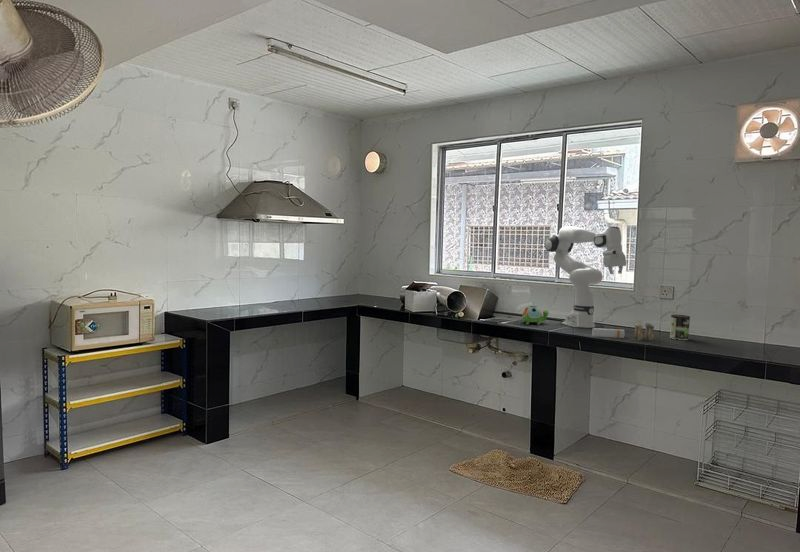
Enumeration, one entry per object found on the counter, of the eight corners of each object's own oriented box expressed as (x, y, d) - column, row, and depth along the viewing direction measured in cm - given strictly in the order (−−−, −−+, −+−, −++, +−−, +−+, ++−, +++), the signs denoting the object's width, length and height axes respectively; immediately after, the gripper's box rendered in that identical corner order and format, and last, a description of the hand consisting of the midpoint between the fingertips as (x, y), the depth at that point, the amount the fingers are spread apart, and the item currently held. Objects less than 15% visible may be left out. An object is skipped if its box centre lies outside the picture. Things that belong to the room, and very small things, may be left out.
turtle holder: (551, 325, 377) (551, 307, 376) (524, 324, 376) (525, 307, 375) (545, 322, 389) (546, 305, 388) (520, 321, 388) (520, 304, 387)
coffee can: (692, 339, 334) (693, 316, 333) (682, 340, 329) (684, 317, 328) (675, 336, 343) (677, 313, 342) (666, 338, 337) (667, 315, 336)
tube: (593, 336, 337) (593, 329, 337) (591, 335, 342) (592, 327, 341) (624, 338, 334) (624, 330, 334) (622, 336, 338) (623, 329, 338)
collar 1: (638, 339, 329) (639, 325, 329) (634, 336, 340) (635, 322, 339) (642, 339, 329) (643, 325, 328) (638, 336, 340) (638, 322, 339)
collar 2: (649, 340, 328) (650, 326, 328) (645, 337, 339) (645, 323, 338) (653, 340, 328) (653, 326, 327) (648, 337, 339) (649, 323, 338)
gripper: (619, 252, 357) (620, 273, 357) (601, 252, 345) (602, 274, 344) (628, 251, 352) (629, 273, 352) (610, 251, 340) (611, 274, 339)
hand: (615, 273), depth 348 cm, fingers open, 8 cm apart
